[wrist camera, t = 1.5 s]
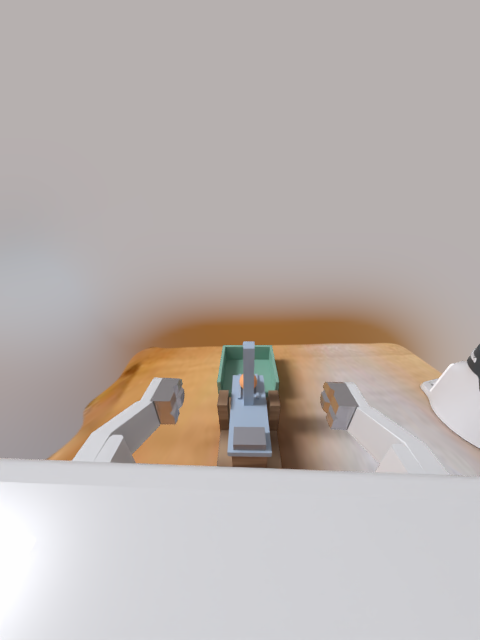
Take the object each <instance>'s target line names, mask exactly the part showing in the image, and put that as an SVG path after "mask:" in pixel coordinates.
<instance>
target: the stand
mask: <svg viewBox="0 0 480 640" xmlns="http://www.w3.org/2000/svg"><path fill="white" fill-rule="evenodd" d="M266 400H267V413H268V422H269V431H270V440H271V449H272V457H243V456H228V454H227V451H228V437H229V423H230V409H231V406H230V401H231V397H229V390H219V397H218V404H217V407H218V415H219V423H220V432H221V433H220V443H219V452H218V461H217V466H220V467H247V468H275V469H282V464H281V457H280V450H279V443H278V436H277V429H278V421H279V413H280V400H279V395H278V390H268V397H266Z"/></svg>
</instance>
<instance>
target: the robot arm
mask: <svg viewBox="0 0 480 640" xmlns="http://www.w3.org/2000/svg"><path fill="white" fill-rule="evenodd" d="M182 384H183V383H182V379H175V378H154V379H153V380H152V382H151V383H150V385H149V387H148V388H147V390H146V392H145V394H144V395H143V397H142V399H141V400H140V401H137V402H135V403H134V404H133V405H131V406H130V407H128V408H127V409H125V410H124V411H123V412H121V413H120V414H118V415H117V416H116V417H114V418H113V419H111V420H110V421H108V422H107V423H106V424H104V425H103V426H101V427H100V428H98V429H97V430H96V431H94V432H93V433H92V434H91V435H90V436H89V438H88V439H87V441H86V442H85V443H84V445H83V446H82V447H81V449H80V450H79V452H78V453H77V454H76V456H75V457H74V459H73V460H72V461H60V460H32V459H8V458H0V640H480V476H463V475H450V474H449V473H448V471H447V470H446V469H445V468H444V466H443V465H442V464H441V462H440V461H439V460H438V459H437V457H436V456H435V455H434V454H433V452H432V451H431V450H430V448H429V447H428V446H427V445H426V444H425V443H424V442H422V441H421V440H419V439H418V438H416V437H415V436H414V435H412V434H411V433H409V432H408V431H406V430H405V429H403V428H402V427H401V426H399V425H398V424H396V423H395V422H393V421H392V420H391V419H389V418H388V417H386V416H385V415H383V414H382V413H380V412H379V411H378V410H376V409H375V408H371V407H370V406H369V404H368V403H367V401H366V400H365V398H364V397H363V395H362V394H361V392H360V391H359V389H358V388H357V386H356V385H355V384H354V383H353V382H325V383H324V385H323V388H324V391H323V392H322V393H321V397H320V400H321V406H322V409H323V410H324V411H325V412H326V413H327V416H326V419H327V421H328V424H329V426H330V429H337V430H347V431H348V433H349V434H350V435H351V436H352V437H353V438H354V439H355V440H356V441H357V442H358V443H359V444H360V445H361V446H362V447H363V448H364V449H365V450H366V451H367V452H368V453H369V454H370V455H371V456H372V457H373V458H374V459H375V460H376V461H377V462H378V463H379V466H378V468H377V469H376V471H375V472H355V471H328V470H302V469H275V468H247V467H220V466H193V465H166V464H139V463H136V462H135V460H134V458H133V456H132V454H133V453H134V452H135V451H136V450H137V449H138V448H139V447H140V446H141V445H142V443H143V442H144V441H145V440H146V439H147V438H148V437H149V436H150V435H151V434H152V433H153V432H154V431H155V430H156V429H157V428H158V427H159V426H160V424H176V422H177V419H178V416H179V408H180V407H181V406H182V404H183V401H184V389H183V388H182V387H181V386H182ZM421 388H422V390H423V391H424V392H425V394H426V395H427V396H428V398H429V401H430V404H431V407H432V409H433V410H434V412H435V413H436V415H437V416H438V417H439V418H440V419H441V420H442V421H443V422H444V423H445V424H446V425H447V426H448V427H449V428H450V429H451V430H453V431H454V432H455V433H456V434H458V435H459V436H460V437H462V438H463V439H465V440H466V441H468V442H469V443H471V444H473V445H474V446H476V447H478V448H480V344H479V345H478V347H477V348H475V349H474V350H473V351H472V353H471V356H470V357H469V358H468V360H467V361H466V362H465V361H461V362H458V363H454V364H450V365H449V367H448V368H447V369H446V370H445V371H444V373H443V374H442V375H441V376H440V378H438V379H434V380H430V381H426V382H423V383H422V384H421Z"/></svg>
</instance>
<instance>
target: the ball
mask: <svg viewBox="0 0 480 640" xmlns="http://www.w3.org/2000/svg"><path fill="white" fill-rule="evenodd" d="M239 382H240V386H241V387H242V388H243V389H244V382H243V374H242V375H241V377H240V380H239ZM256 385H257V378H256V376H255V375H254V388H255V387H256Z"/></svg>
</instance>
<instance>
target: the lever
mask: <svg viewBox="0 0 480 640" xmlns="http://www.w3.org/2000/svg"><path fill="white" fill-rule="evenodd" d="M254 359H255V345H254V342H243V382H244V389H243V388H242V387H241V386H240V382H239V380H240V377H241V374H239V375H233V381H232V395H231V401H230V406H231V409H230V423H229V437H228V451H227V454H228V456H243V457H272V449H271V440H270V431H269V422H268V413H267V400H266V395H265V386H264V378H263V375H258V374H255V376H256V378H257V385H256V387H255V388H254Z"/></svg>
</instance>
